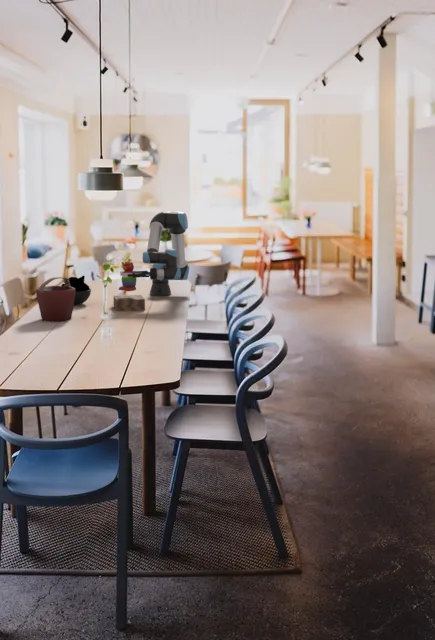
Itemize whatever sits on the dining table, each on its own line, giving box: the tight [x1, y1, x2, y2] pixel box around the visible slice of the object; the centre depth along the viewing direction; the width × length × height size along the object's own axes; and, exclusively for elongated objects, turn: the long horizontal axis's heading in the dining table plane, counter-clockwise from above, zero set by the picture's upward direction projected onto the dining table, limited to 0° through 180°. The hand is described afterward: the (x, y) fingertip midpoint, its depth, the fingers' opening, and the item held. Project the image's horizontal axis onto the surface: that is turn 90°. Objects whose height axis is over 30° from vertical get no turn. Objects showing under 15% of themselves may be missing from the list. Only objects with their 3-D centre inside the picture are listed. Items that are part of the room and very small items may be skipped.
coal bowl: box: [60, 275, 92, 306], centre depth 519 cm, size 20×20×19 cm
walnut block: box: [113, 294, 146, 312], centre depth 508 cm, size 18×18×7 cm
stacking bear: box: [118, 261, 137, 292], centre depth 505 cm, size 11×10×18 cm
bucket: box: [35, 276, 76, 323], centre depth 466 cm, size 24×22×25 cm
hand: (121, 274), depth 504 cm, fingers closed on stacking bear, 9 cm apart
